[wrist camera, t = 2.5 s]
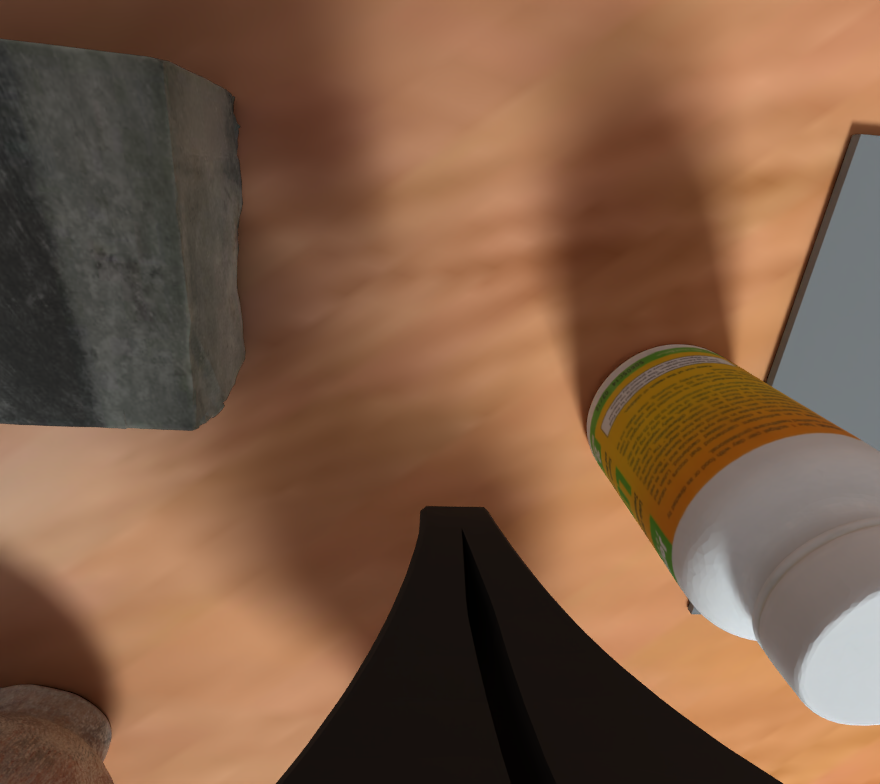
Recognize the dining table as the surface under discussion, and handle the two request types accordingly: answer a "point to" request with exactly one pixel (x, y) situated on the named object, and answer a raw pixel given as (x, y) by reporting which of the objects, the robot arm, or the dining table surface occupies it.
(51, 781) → the pottery
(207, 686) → the dining table surface
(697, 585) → the supplement bottle
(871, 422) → the mat
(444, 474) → the dining table surface
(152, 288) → the stone block
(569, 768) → the robot arm
